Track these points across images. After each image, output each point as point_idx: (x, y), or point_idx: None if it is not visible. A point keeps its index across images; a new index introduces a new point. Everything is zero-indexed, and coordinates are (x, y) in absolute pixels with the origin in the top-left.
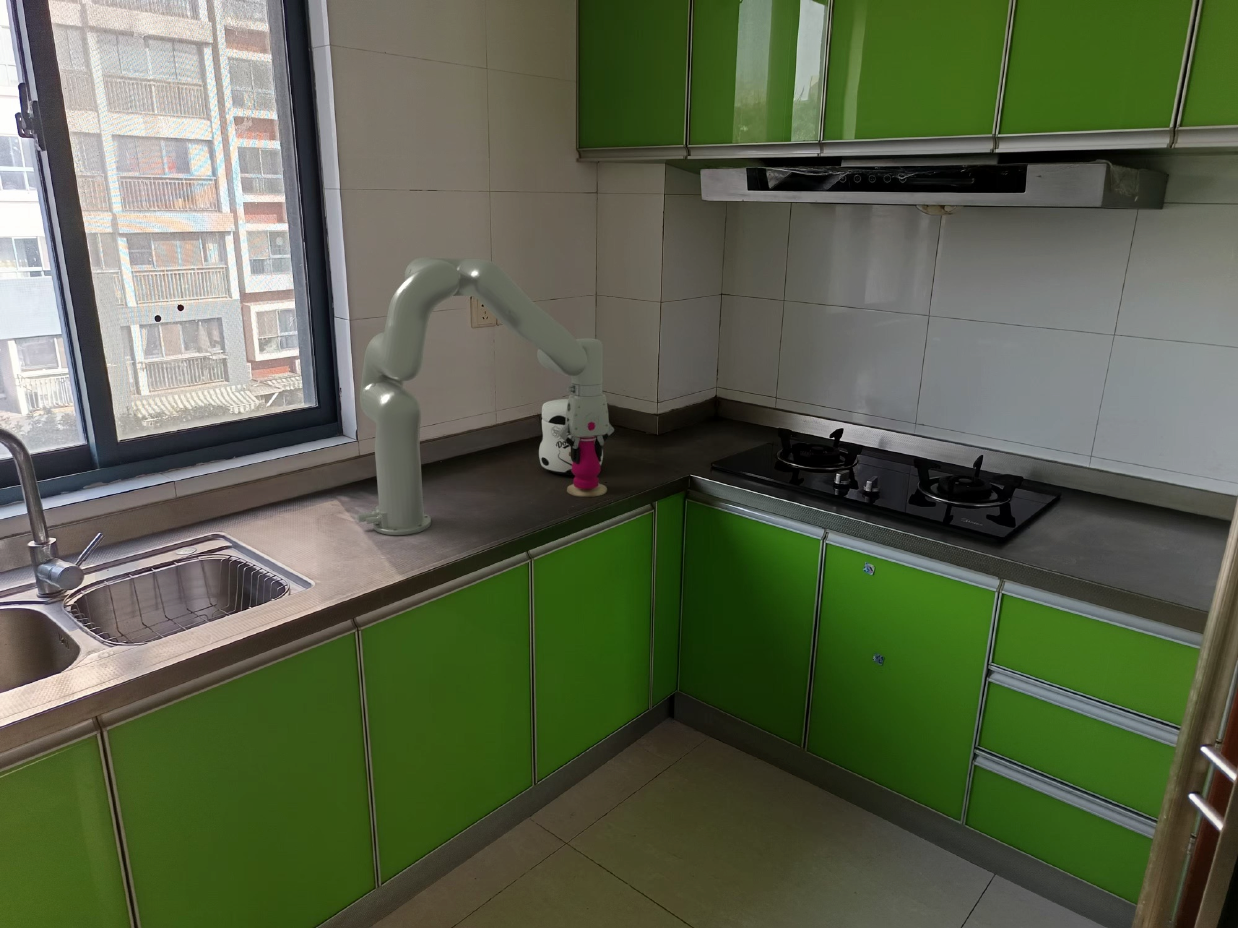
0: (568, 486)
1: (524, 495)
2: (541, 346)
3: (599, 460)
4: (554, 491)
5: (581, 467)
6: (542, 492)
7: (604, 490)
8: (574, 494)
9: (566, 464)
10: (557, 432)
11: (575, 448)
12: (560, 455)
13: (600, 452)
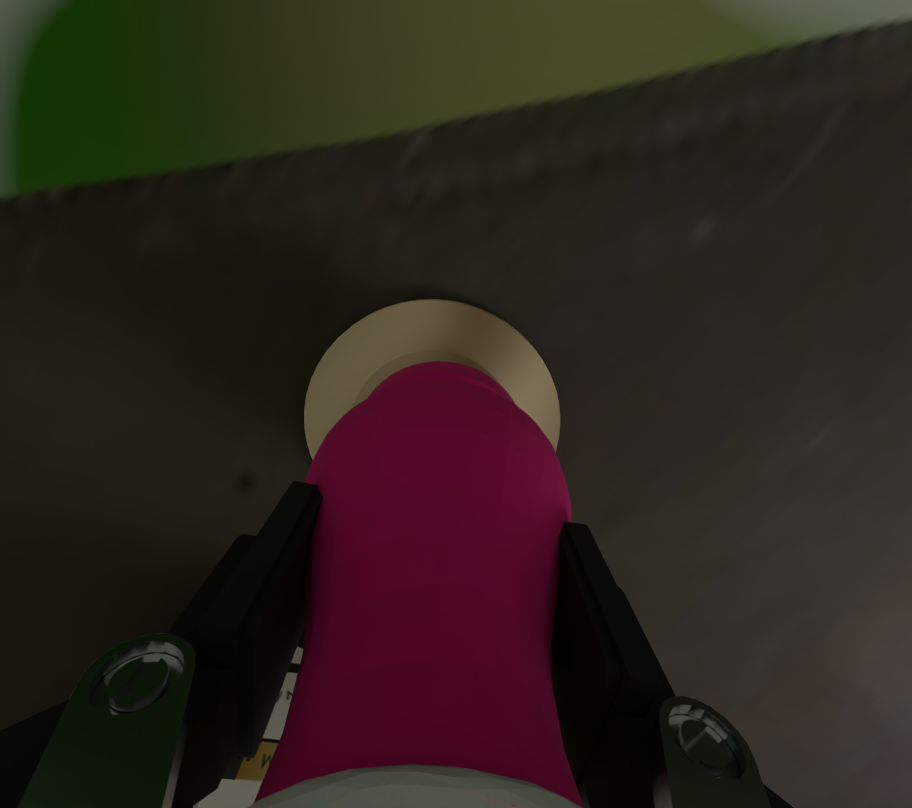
0: None
1: (752, 547)
2: None
3: (311, 484)
4: (590, 515)
5: (554, 467)
6: (650, 536)
7: (359, 332)
8: (556, 396)
9: None
10: None
11: (685, 699)
12: None
13: (260, 543)
